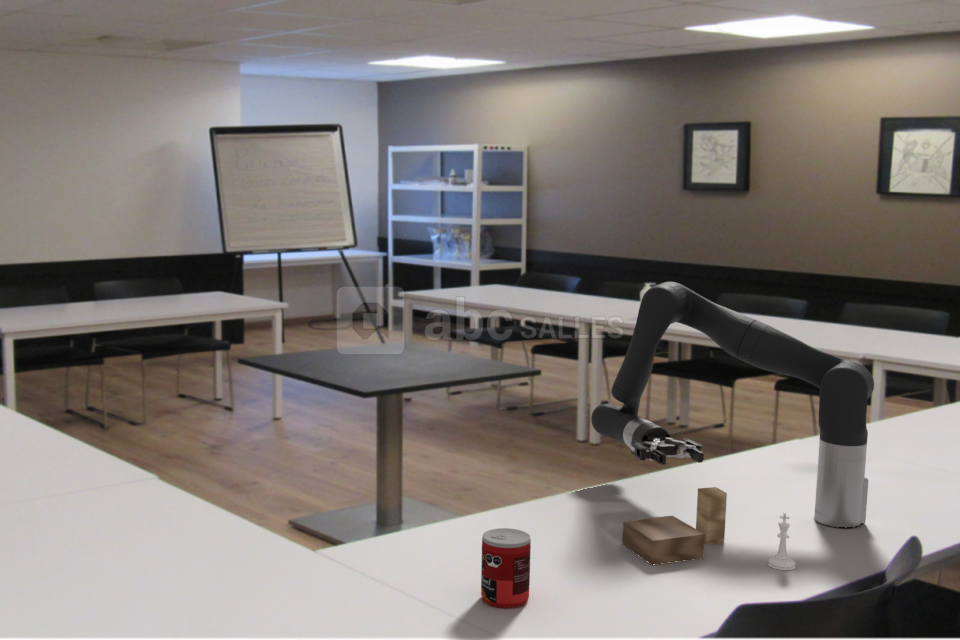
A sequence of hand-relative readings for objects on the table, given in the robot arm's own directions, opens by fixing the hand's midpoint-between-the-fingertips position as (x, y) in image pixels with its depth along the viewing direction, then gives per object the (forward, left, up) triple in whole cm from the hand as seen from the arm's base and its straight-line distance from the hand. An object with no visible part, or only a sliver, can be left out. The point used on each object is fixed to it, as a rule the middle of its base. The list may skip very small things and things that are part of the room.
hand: (683, 459), depth 203 cm
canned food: (+48, +27, -13) cm, 57 cm away
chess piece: (-6, +26, -13) cm, 30 cm away
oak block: (0, +11, -13) cm, 17 cm away
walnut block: (+12, +14, -14) cm, 23 cm away
